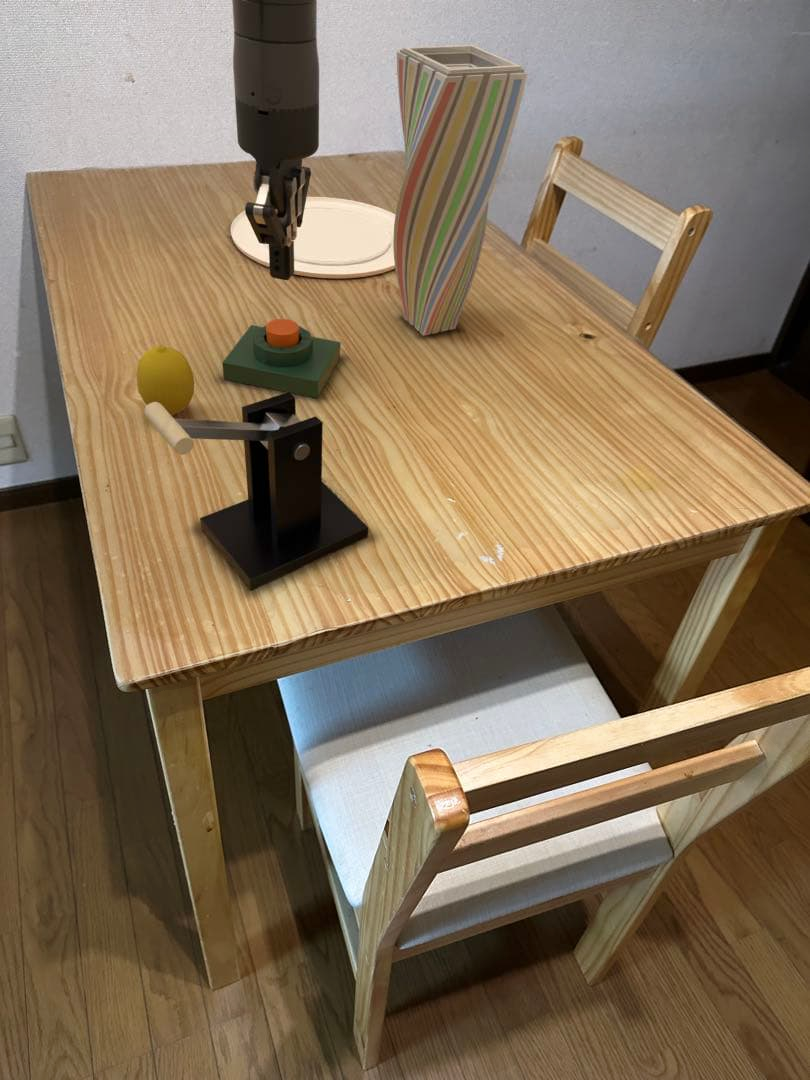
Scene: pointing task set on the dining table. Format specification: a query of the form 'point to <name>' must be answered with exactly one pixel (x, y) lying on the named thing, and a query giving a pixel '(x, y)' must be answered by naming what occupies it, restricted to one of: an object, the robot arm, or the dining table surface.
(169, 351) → the lemon
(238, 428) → the lever
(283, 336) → the button
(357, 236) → the plate
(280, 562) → the bracket
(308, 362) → the button box
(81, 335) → the dining table surface
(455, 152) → the vase
